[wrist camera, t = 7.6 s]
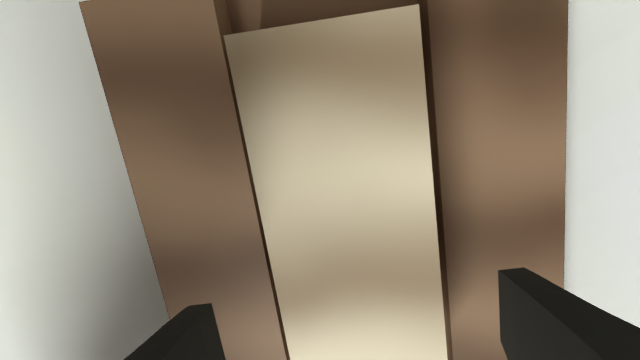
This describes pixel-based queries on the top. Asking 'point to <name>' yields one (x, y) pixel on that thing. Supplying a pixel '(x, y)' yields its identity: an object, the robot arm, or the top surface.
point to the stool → (345, 183)
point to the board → (445, 141)
